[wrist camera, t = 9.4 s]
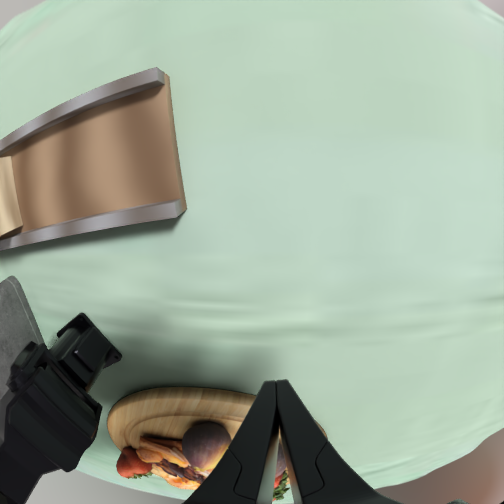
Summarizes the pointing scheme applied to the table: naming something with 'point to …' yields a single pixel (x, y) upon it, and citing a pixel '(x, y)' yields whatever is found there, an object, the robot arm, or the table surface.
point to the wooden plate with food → (181, 434)
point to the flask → (14, 327)
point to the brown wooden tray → (97, 162)
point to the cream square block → (8, 198)
